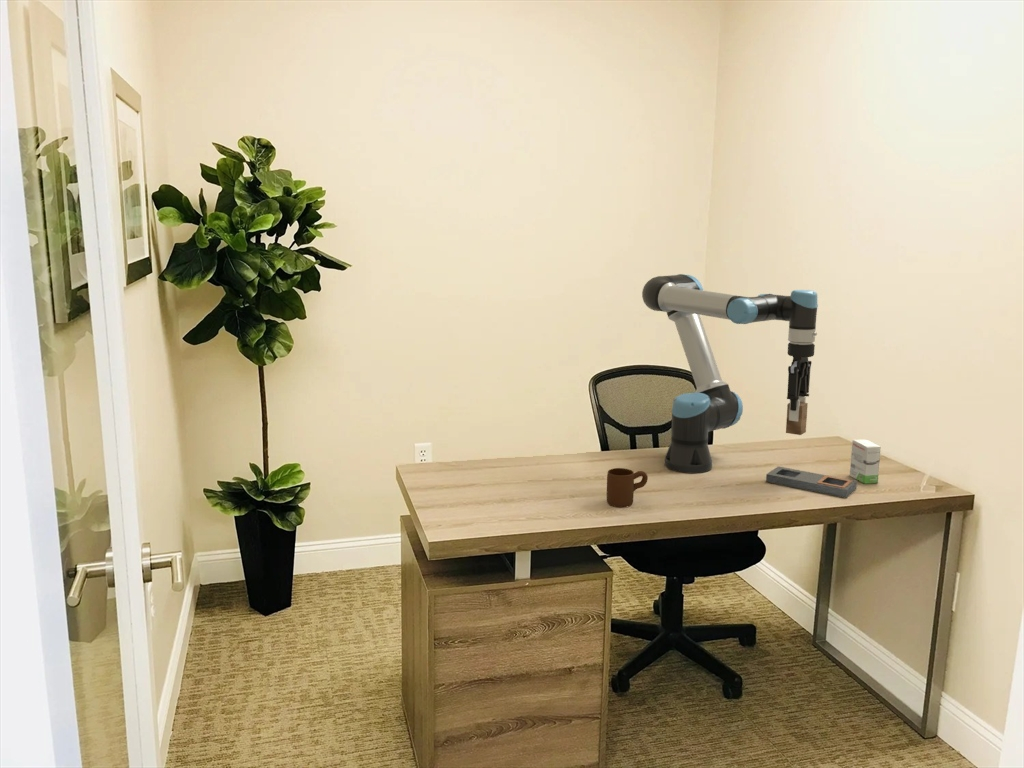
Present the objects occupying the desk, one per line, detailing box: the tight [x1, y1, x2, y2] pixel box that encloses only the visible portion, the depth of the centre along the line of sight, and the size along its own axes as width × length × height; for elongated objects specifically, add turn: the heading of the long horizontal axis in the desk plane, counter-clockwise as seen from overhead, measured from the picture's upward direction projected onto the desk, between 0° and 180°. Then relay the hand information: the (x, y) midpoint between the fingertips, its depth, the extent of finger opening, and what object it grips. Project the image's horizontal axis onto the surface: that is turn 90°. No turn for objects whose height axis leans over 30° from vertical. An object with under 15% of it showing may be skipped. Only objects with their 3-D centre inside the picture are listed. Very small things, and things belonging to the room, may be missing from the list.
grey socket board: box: [765, 466, 858, 499], centre depth 258 cm, size 24×10×3 cm, turn 53°
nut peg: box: [785, 402, 809, 436], centre depth 257 cm, size 4×4×9 cm
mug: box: [606, 467, 649, 508], centre depth 242 cm, size 12×8×9 cm, turn 104°
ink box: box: [849, 439, 881, 485], centre depth 263 cm, size 9×5×12 cm, turn 9°
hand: (796, 418), depth 257 cm, fingers closed on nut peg, 4 cm apart
